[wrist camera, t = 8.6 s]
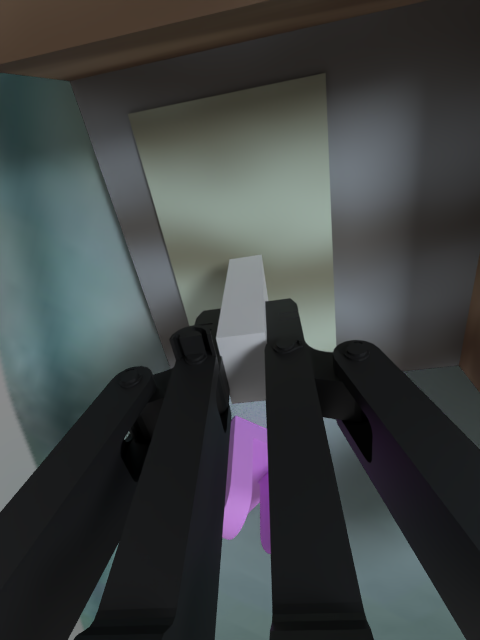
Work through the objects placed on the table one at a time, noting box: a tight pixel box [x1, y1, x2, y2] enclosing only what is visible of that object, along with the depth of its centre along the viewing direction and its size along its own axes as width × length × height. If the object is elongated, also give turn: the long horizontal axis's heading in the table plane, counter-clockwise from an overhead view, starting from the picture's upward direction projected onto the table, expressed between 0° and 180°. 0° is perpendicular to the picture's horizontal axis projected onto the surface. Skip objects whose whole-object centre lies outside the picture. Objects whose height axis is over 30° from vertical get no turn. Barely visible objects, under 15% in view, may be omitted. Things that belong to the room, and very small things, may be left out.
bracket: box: [222, 416, 271, 554], centre depth 25 cm, size 13×6×7 cm, turn 151°
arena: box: [0, 0, 480, 392], centre depth 15 cm, size 19×19×6 cm
